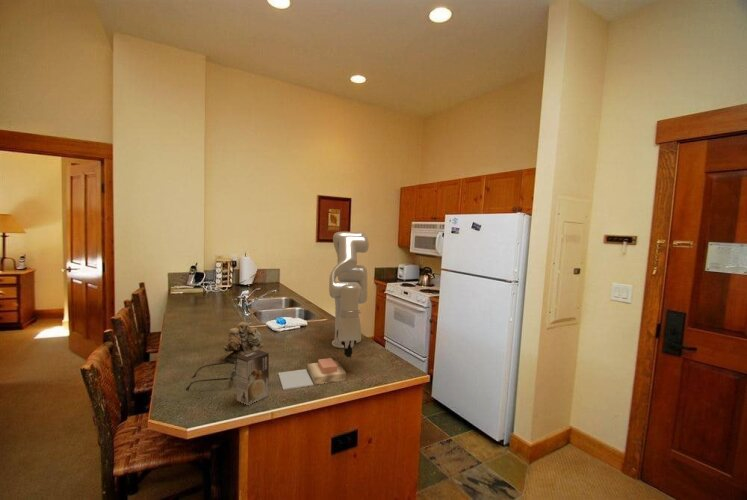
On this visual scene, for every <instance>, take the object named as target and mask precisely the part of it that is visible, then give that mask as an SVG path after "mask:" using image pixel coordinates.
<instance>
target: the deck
mask: <svg viewBox="0 0 747 500" xmlns="http://www.w3.org/2000/svg"><path fill="white" fill-rule="evenodd" d="M333 361H334V362H335V363H336V365H337V372H332V373H324V374H323V373H322V371H321V370H320V368H319V366H318V362H313V363H307V365H306V366H307V367H306V370H307V372H308V374H309V376H310V378H311V380H312V382H313V384H314V386H317V384H319V385H324V383H325V384H331V382H332V383H336V382H337V383H338V382H343V381H344V382H345V381H347V372H346V371H345V370H344V369H343V367H342V366H341V364H340V363H339V362H338V360H333Z"/></svg>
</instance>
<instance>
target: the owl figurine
mask: <svg viewBox="0 0 747 500" xmlns="http://www.w3.org/2000/svg"><path fill="white" fill-rule="evenodd" d="M261 335H262V334H261V333H260V332H259V330H258V328H257V327H251V328H249V329H248V323H246V322H245V321H241V322H239V323H238V324H237V325H236V327H233V328H230V329H229V331H228V337H227V344H225V345H224V346H223V347H222V349H223V350H224V352H228V353H229V352H231V353H229V354H228V355H226V356H225V358H224V361H225V362H232V361H237V357H239V356H241V355H244V354H247V353H250V352H253V351H256V350H259V351H261V349H263V347H264V346H265V345H264V343H262V336H261ZM230 364H232V365H233V364H234V365H236V363H230Z"/></svg>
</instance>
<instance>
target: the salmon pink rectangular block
mask: <svg viewBox="0 0 747 500" xmlns="http://www.w3.org/2000/svg"><path fill="white" fill-rule="evenodd" d="M334 361H335V360H333V358H331V357H328V358H321V359H317V363H318V366H319V368H320V370H321V371H322V373H323V374H324V373H332V372H337V365H336V363H335V362H334Z"/></svg>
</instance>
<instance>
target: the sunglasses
mask: <svg viewBox="0 0 747 500" xmlns="http://www.w3.org/2000/svg"><path fill="white" fill-rule="evenodd" d="M231 363H236V364H234V368H233V371H232V373H231V376H230V377H223V378H220V377H219V378H210V379H200V380H195V381H192V382H191V383H190V384H189V385H188V386H187V387H186V388H185V390H187V391H188V390H189V389H190V387H191V386H192V384H194V383H198V382H199V383H200V382H207V381H208V382H209V381H210V382H212V381H222V380H224V381H225V380H230V381H231V382H230V386H231V387H232V386H233V383H234V377H235V375H236V373H237V361H232V362H226V361H225V362H219V363H217V362H216V363H211V364H207V365H203V366H201V367H200V368H198V369H197V370H196V371H195V373H194V375H193V376H192V377H191V378H192V379H194V378H196V375H197V374H198V372H199V371H200V370H201V369H203V368H205V367H210V366H211V367H212V366H217V365H227V364H231Z"/></svg>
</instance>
